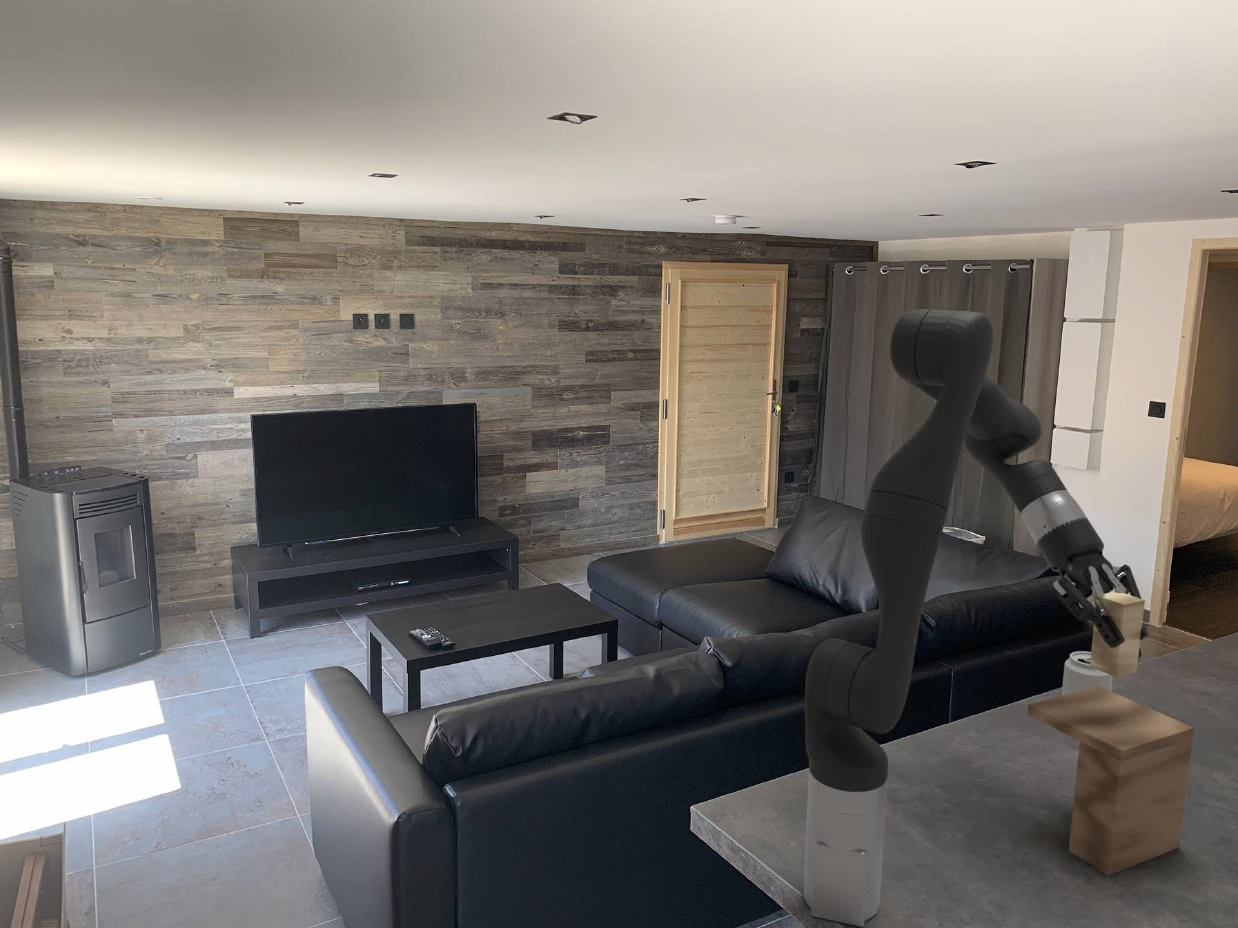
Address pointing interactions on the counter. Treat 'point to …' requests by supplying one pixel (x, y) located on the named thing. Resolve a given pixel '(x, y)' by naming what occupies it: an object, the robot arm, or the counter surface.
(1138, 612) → the oak block
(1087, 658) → the can
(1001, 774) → the counter surface
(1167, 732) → the walnut shelf
